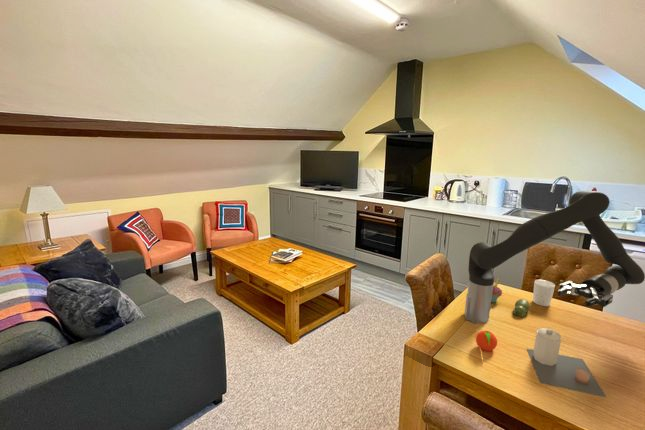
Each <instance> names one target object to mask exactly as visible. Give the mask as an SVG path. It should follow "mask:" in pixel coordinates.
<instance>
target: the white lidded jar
mask: <svg viewBox="0 0 645 430" xmlns="http://www.w3.org/2000/svg"><path fill="white" fill-rule="evenodd" d="M561 338H562V337H561V334H560V333H559V332H557V331H556V330H553V329H551V328H547V327H546V328H545V327H544V328H543V327H542V328H538V329H537V331H536V334H535V340H534V346H533V350H534V351H533V356H534V359H535V360H537V361H538V362H540V363H542V364H545V365H550V366H553V365H555V364H557V359H558V354H559V353H560V350H561V349H560V348H561V344H562V339H561ZM559 355H560V354H559Z"/></svg>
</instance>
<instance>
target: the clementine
mask: <svg viewBox="0 0 645 430" xmlns="http://www.w3.org/2000/svg"><path fill="white" fill-rule="evenodd" d="M475 342H476V345H477V347H478V348H480V349H481V350H483V351H486V352H490V351H493V350H495V349H496V347H497V345H498V340H497V337H496V336H495V334H494V333H493V332H491V331H490V330H489V331H488V330H481V331H478V333H477V334H476V337H475Z"/></svg>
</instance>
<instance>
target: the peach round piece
mask: <svg viewBox="0 0 645 430" xmlns="http://www.w3.org/2000/svg"><path fill="white" fill-rule="evenodd" d="M589 378H590V374H589V373H588V372H587V371H585V370H583V369H577V370H576V374H575V380H576V381H577V382H578V383H580V384H584V385H587V384H588V382H589Z"/></svg>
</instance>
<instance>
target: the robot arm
mask: <svg viewBox="0 0 645 430" xmlns="http://www.w3.org/2000/svg"><path fill="white" fill-rule="evenodd" d="M609 206H610V198H609V197H608V195H607V194H605V193H604V192H600V191H598V190H595V191H594V190H580V191H576V192H575V193H573V194H572V195H571V196H570V198H569V205H568V206H565V207H564V208H561V209H557V210H555V211H551V212H547V213H544V214H540V215H538V216H536V217H535V216H534V217H533V218H530V219H529V220H527V221H524V222H523V223H522V224H520V225H519V226H518V227H517V228H516V229H515V230H514V231H513V232H512V233H511V234H510V235H509V236H508V238H506V239H505V240H503V241H501V242H499V243H497V244H495V245H493V246H492V245H490V244H489V243H487V242H477V243H475V244H474V245H472V247H471V249H470V251H469V257H468V258H469V259H468V275H469V276H468V277H469V278H468V286H467V293H466V296H465V305H464V319H465V320H467V321H469V322H471V323H474V324H485V323H489V319H490V315H491V314H490V312H491V304H492V302H491V299H492V291H493V285H495V277H494V274H493V269H495V268H497V267H498V266H500V265H502V264H504V263H505V262H507V261H508V260H510V259H511V258H513V257H514V256H516V255H518V254H520V253H522V252H524V251H526V250H528V249H529V248H532V247H534V246H536V245H538V244H541V243H542V242H545V241H546V240H549V239H550V238H552V237H554V236H556V235H557V234H560V233H562V232H563V231H565V230H567V229H569V228H571V227H573V226H575V225H577V224H579V223H582V224H583V226H584V227H585V228H586V229H587V231H588V233H589V234H590V235H591V238H592V239H593V240H594V243H595V244H596V246H597V248H598V250H599V251H600V253H601V255H602V257H603V259H604V261H605V262H606V263H608V264H612V266H608V267H607V268H606V270H605V271H604V272H603V273H600V274H597V275H596V274H595V275H594V276H591V277H590V278H587V279H585V280H583V281H582V282H581V283H579V284H577V283H573V282H574V281H572V280H567V281H565V282H562V283H559V287H558V288H559V289H558V290H557V295H558V297H563V296H566V295H572V296H581V297H583V298H586V300H585V303H584V307H586V308H591V307H594V306H598V305H600V307H602V308H605V307H607V306H608V305H610V304H612V303H613V299H614V295H613V294H614V293H615V292H616V291H620V290H621V289H622V288H624V287H625V286H626V285H640V284H642V283H643V282H644V281H645V271H644V270H643V269H642V267H641V266H640V265H639V264H638V263H637V262H636V261H635V260H634V259H633V258H632V257H631V256H630V255H629V254H628V252H627V250H626V249H625V247H624V245H623V243H622V242H621V240H620V238H619V237H618V236H617V235H616V233H615V232H614V231H613V230H612V229H611V228H610V227H609V226H608V225H607V224H606V223H605V221H604V220H603V219H602V217H601V215H602V214H603V213H604V212H606V210H608V208H609Z"/></svg>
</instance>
